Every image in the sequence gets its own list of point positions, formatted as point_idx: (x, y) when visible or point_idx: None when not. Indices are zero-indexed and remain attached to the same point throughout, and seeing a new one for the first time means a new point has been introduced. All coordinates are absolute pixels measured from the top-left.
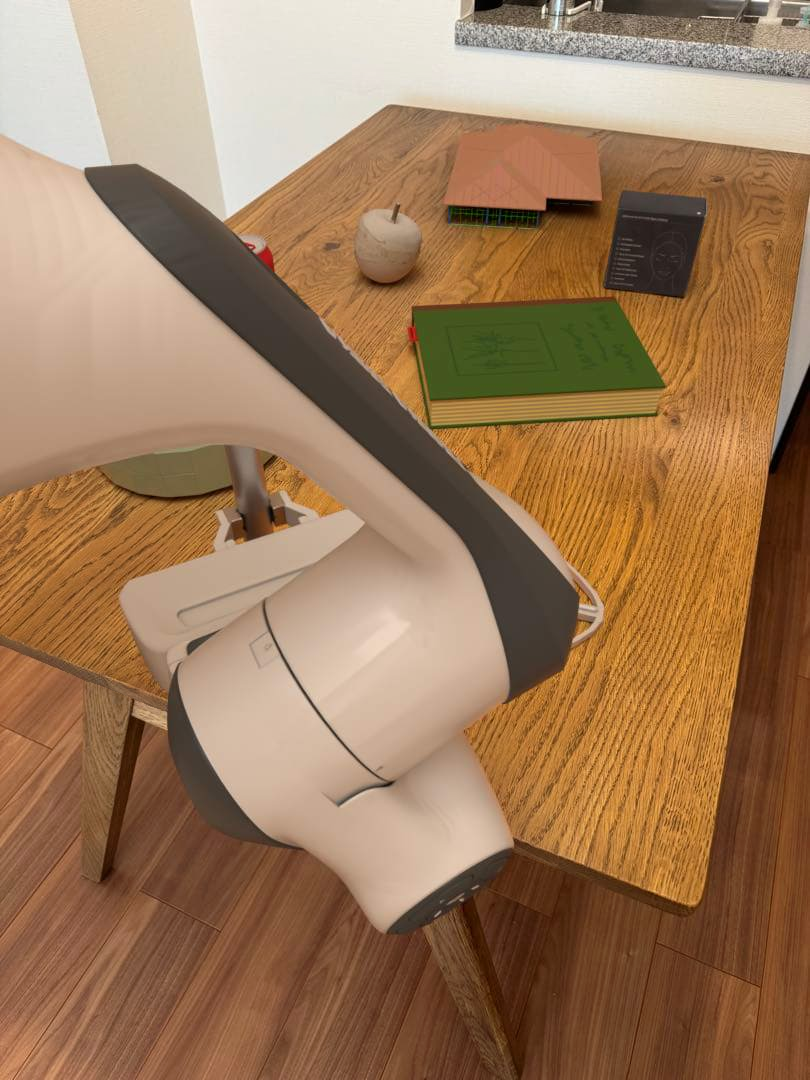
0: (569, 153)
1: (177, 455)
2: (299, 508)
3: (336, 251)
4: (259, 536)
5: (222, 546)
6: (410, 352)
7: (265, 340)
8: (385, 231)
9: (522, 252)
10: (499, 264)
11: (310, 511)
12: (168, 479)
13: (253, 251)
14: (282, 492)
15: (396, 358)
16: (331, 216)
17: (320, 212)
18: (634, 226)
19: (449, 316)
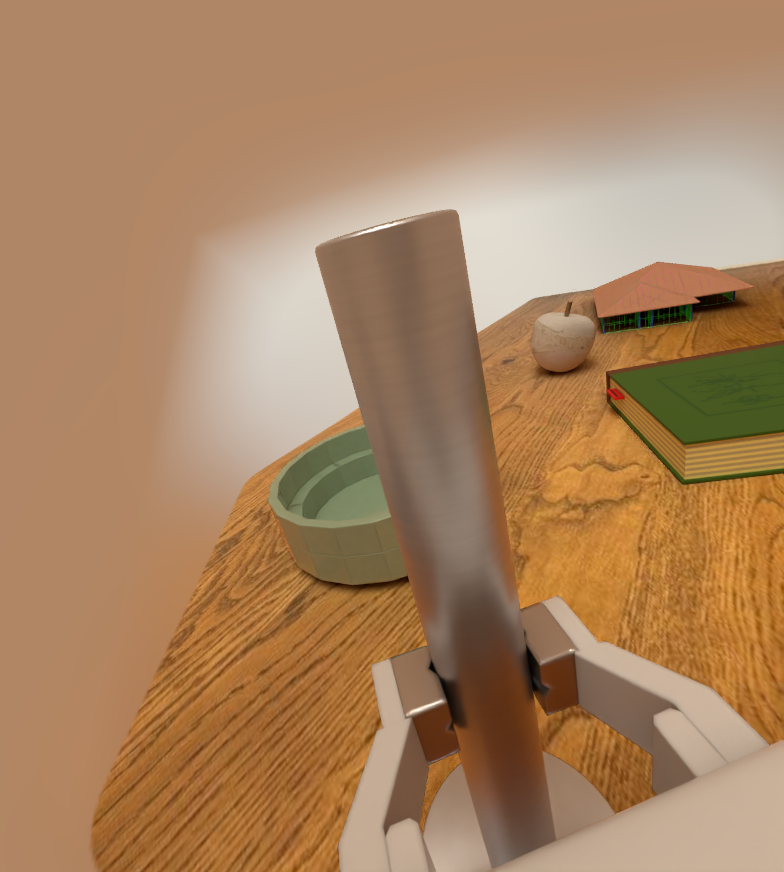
0: (699, 270)
1: (360, 529)
2: (635, 670)
3: (512, 362)
4: (501, 749)
5: (373, 863)
6: (613, 414)
7: None
8: (562, 322)
9: (688, 335)
10: (669, 345)
11: (688, 688)
12: (351, 561)
13: None
14: (554, 604)
15: (599, 421)
16: (503, 347)
17: (494, 347)
18: None
19: (655, 371)
